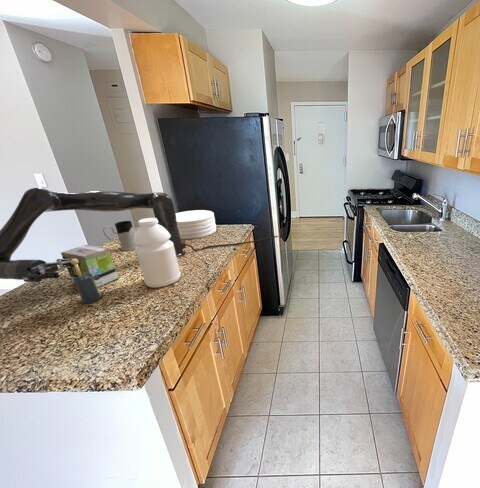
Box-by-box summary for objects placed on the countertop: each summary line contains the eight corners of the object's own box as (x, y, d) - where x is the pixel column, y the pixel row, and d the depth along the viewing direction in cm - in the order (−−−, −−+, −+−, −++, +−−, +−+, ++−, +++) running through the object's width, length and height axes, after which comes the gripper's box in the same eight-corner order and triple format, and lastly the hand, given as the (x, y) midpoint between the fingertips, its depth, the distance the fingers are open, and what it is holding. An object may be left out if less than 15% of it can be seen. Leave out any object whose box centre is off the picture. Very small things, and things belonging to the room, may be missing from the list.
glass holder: (138, 248, 149) (131, 223, 143) (107, 253, 143) (98, 227, 137) (140, 243, 156) (133, 219, 150) (111, 247, 150) (103, 223, 144)
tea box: (119, 277, 117) (109, 247, 112) (95, 289, 108) (82, 256, 103) (97, 272, 122) (86, 243, 116) (71, 283, 113) (58, 252, 108)
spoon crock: (102, 294, 105) (87, 254, 98) (98, 301, 100) (82, 260, 94) (85, 297, 103) (68, 257, 96) (80, 304, 98) (62, 262, 91)
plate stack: (188, 224, 191) (185, 209, 186) (223, 226, 187) (221, 210, 183) (160, 238, 165) (156, 220, 161) (201, 240, 161) (198, 222, 157)
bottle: (143, 291, 107) (123, 226, 96) (146, 276, 118) (129, 217, 108) (181, 283, 113) (166, 221, 102) (181, 270, 124) (168, 213, 114)
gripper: (-1, 269, 89) (45, 269, 89) (41, 252, 102) (82, 252, 102) (9, 288, 92) (54, 288, 92) (49, 269, 105) (89, 269, 105)
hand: (69, 269), depth 97 cm, fingers open, 8 cm apart
